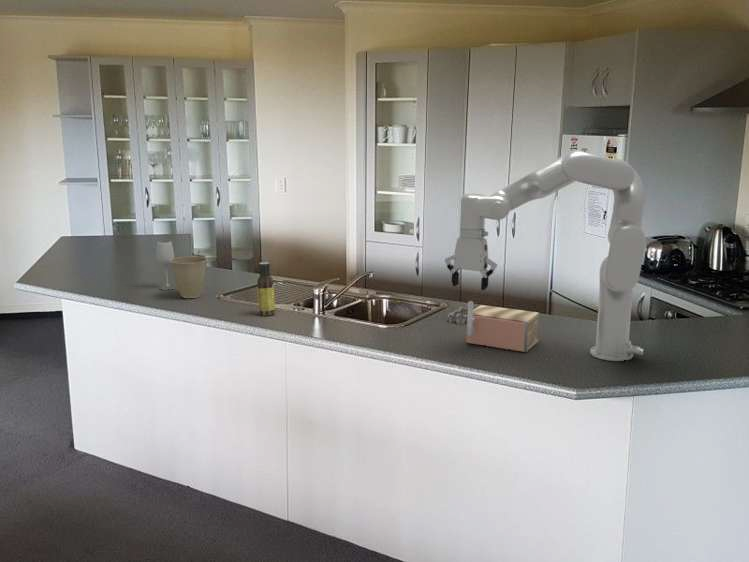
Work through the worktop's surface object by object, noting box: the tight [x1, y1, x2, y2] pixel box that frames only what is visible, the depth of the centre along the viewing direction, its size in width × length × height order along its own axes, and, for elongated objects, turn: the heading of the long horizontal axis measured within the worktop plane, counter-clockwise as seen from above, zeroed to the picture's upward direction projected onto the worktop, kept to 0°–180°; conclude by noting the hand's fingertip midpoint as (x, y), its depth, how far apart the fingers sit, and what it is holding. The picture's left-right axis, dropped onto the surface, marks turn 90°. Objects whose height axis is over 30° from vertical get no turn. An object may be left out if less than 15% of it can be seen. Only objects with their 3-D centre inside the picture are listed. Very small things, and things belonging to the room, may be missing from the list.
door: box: [466, 300, 528, 353], centre depth 221 cm, size 20×4×15 cm, turn 60°
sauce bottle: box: [256, 261, 276, 317], centre depth 264 cm, size 6×6×20 cm
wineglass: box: [155, 240, 175, 286], centre depth 306 cm, size 8×8×21 cm
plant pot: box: [170, 256, 208, 297], centre depth 291 cm, size 15×15×16 cm
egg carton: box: [446, 305, 468, 325], centre depth 256 cm, size 11×8×4 cm
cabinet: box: [473, 304, 540, 352], centre depth 229 cm, size 20×12×10 cm, turn 60°
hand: (469, 287), depth 222 cm, fingers open, 9 cm apart
